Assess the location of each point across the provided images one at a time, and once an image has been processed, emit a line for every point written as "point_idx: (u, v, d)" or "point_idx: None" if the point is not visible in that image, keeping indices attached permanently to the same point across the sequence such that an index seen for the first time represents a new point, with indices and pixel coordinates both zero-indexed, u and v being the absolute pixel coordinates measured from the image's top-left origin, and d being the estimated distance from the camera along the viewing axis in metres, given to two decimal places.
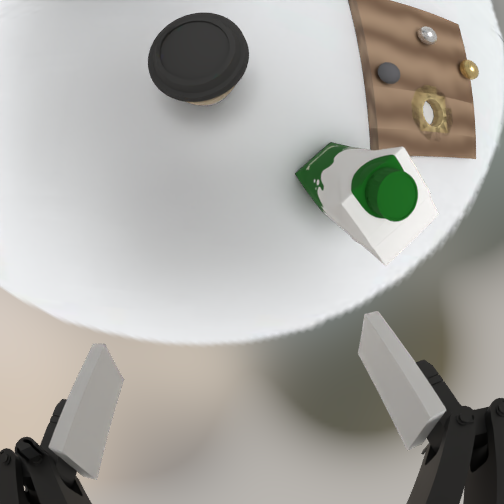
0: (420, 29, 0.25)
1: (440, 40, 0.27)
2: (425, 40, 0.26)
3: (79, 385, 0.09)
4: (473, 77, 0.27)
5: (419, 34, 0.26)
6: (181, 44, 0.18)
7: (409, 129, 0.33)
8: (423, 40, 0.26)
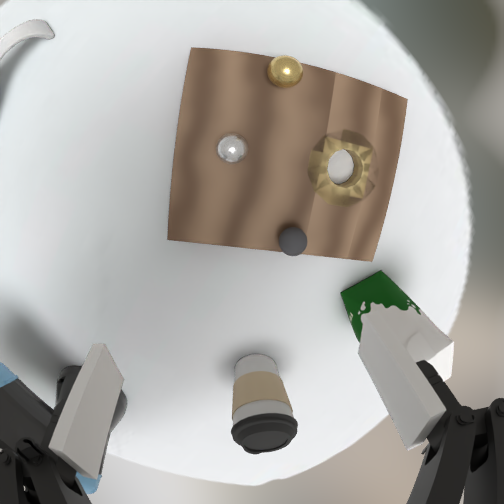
0: (223, 161, 0.27)
1: (231, 106, 0.26)
2: None
3: (79, 385, 0.09)
4: (301, 74, 0.23)
5: None
6: (258, 444, 0.31)
7: (358, 215, 0.32)
8: (241, 160, 0.27)
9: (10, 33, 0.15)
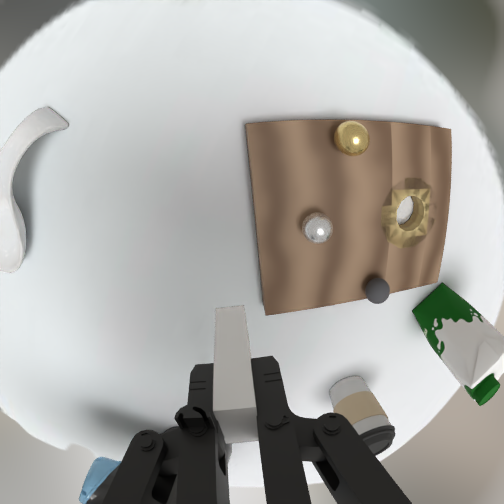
0: (311, 242, 0.29)
1: (305, 182, 0.28)
2: None
3: (222, 345, 0.12)
4: (369, 140, 0.24)
5: None
6: None
7: (424, 250, 0.33)
8: None
9: (14, 136, 0.19)
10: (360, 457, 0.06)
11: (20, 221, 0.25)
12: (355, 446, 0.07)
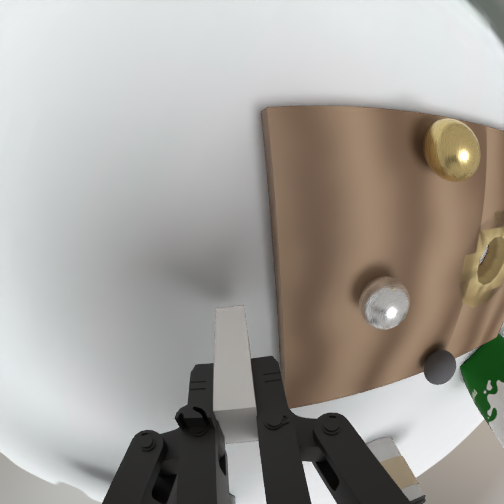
0: None
1: (370, 223, 0.15)
2: None
3: (222, 345, 0.12)
4: None
5: None
6: None
7: (494, 304, 0.19)
8: None
9: None
10: (360, 457, 0.06)
11: None
12: (355, 446, 0.07)
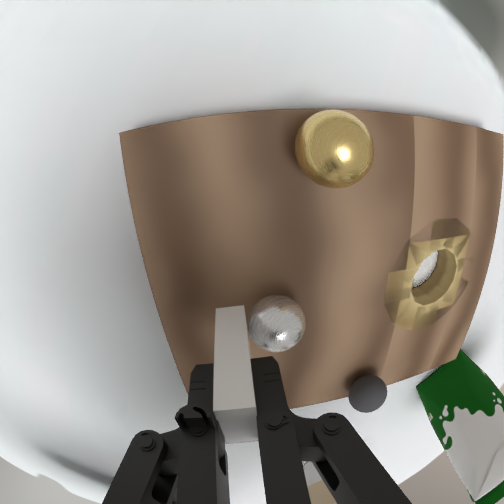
0: None
1: (239, 240, 0.15)
2: None
3: (222, 345, 0.12)
4: (373, 152, 0.11)
5: None
6: None
7: (445, 325, 0.19)
8: None
9: None
10: (360, 457, 0.06)
11: None
12: (355, 446, 0.07)
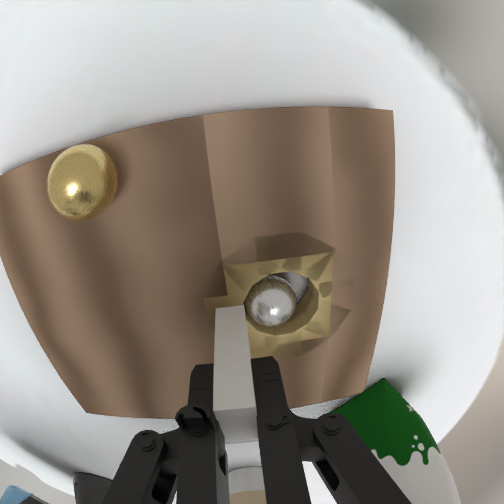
0: None
1: (55, 264, 0.14)
2: None
3: (222, 345, 0.12)
4: (102, 180, 0.10)
5: None
6: None
7: (325, 358, 0.19)
8: None
9: None
10: (360, 457, 0.06)
11: None
12: (355, 446, 0.07)
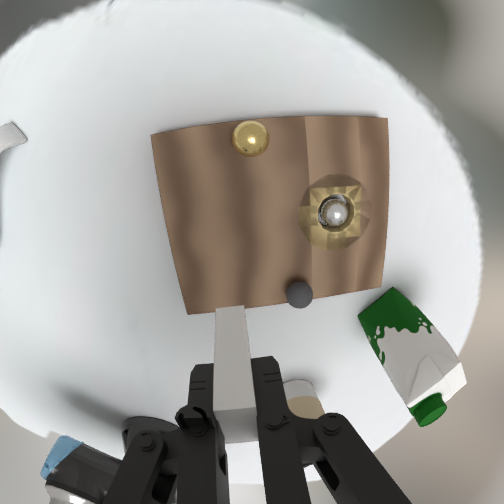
0: None
1: (209, 186, 0.29)
2: None
3: (222, 345, 0.12)
4: (267, 138, 0.25)
5: None
6: None
7: (358, 252, 0.33)
8: None
9: None
10: (360, 457, 0.06)
11: None
12: (355, 446, 0.07)
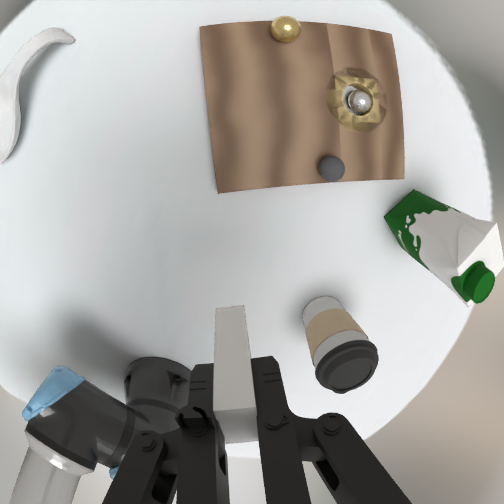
0: None
1: (248, 66, 0.28)
2: None
3: (222, 345, 0.12)
4: (300, 27, 0.24)
5: None
6: (344, 380, 0.33)
7: (380, 138, 0.32)
8: None
9: (32, 40, 0.19)
10: (360, 457, 0.06)
11: (18, 112, 0.25)
12: (355, 446, 0.07)
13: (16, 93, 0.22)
